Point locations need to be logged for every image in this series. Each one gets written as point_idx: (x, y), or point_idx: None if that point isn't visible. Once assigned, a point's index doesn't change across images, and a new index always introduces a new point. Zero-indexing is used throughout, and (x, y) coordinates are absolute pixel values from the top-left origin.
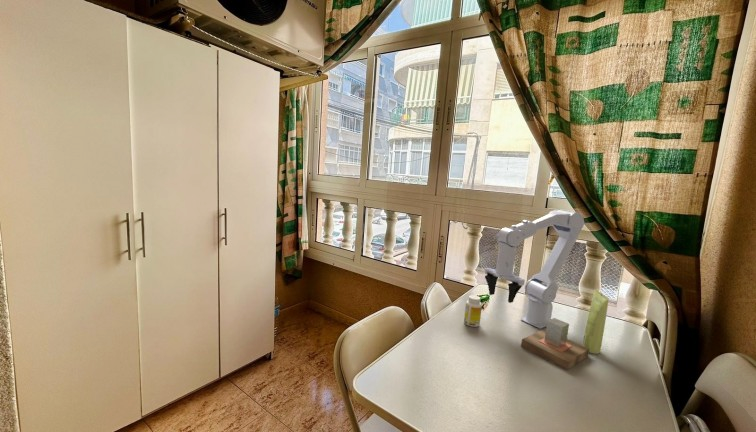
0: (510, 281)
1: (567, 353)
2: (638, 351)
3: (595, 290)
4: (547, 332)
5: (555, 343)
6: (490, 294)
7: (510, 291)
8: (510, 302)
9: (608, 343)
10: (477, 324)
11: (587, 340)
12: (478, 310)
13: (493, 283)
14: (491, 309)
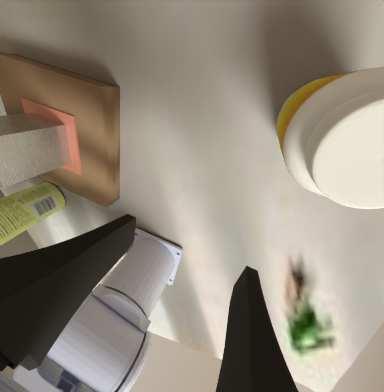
0: (9, 378)
1: (17, 105)
2: (36, 232)
3: None
4: (27, 128)
5: (30, 116)
6: (249, 269)
7: (54, 256)
8: (124, 217)
9: (60, 235)
10: (283, 104)
11: (31, 194)
12: (295, 106)
13: (231, 370)
14: (266, 275)
